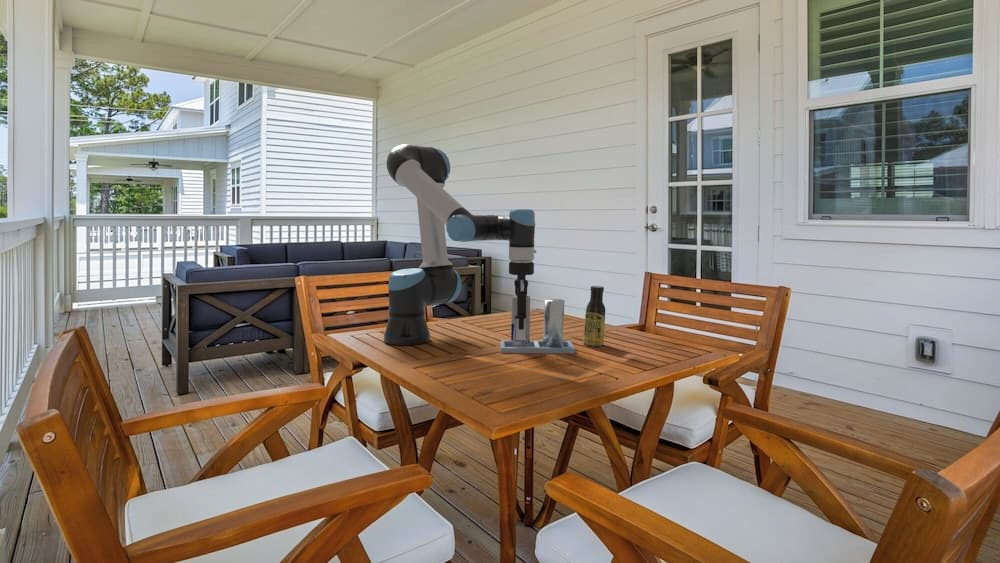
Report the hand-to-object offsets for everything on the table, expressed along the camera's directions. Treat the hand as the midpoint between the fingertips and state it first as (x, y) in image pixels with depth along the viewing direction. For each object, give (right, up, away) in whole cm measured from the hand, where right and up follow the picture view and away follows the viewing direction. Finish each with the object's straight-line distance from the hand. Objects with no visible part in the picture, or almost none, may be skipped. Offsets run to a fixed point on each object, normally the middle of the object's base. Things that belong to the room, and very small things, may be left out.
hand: (520, 337), depth 165 cm
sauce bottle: (+23, -4, +7) cm, 25 cm away
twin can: (+10, -4, +1) cm, 11 cm away
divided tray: (+5, -5, +1) cm, 7 cm away
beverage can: (0, -3, 0) cm, 3 cm away
